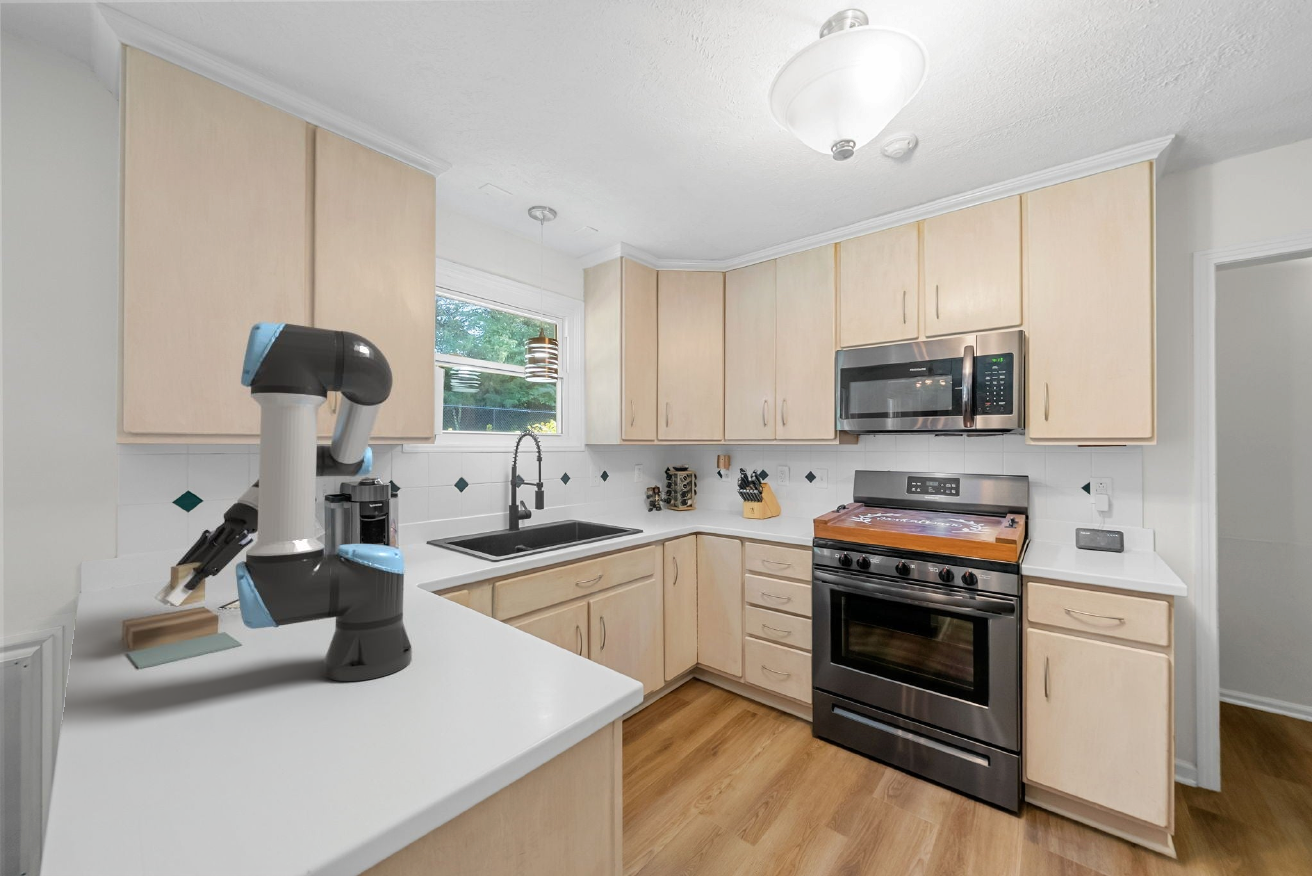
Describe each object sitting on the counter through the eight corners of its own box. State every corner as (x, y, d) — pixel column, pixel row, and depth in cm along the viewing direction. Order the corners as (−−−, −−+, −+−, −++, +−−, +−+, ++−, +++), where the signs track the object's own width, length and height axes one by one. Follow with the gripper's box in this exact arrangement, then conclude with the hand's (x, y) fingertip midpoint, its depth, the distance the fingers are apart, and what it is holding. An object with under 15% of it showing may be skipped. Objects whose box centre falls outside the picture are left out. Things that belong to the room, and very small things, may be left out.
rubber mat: (241, 645, 115) (241, 643, 115) (138, 669, 102) (138, 666, 102) (224, 633, 122) (224, 631, 122) (126, 654, 110) (126, 652, 110)
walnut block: (217, 633, 122) (218, 616, 122) (132, 651, 111) (133, 632, 111) (203, 623, 129) (203, 606, 130) (122, 638, 118) (122, 620, 119)
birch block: (204, 600, 115) (205, 562, 116) (177, 606, 111) (179, 567, 111) (196, 599, 116) (197, 562, 116) (169, 605, 111) (170, 566, 112)
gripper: (286, 523, 126) (206, 615, 110) (239, 519, 131) (155, 607, 114) (264, 502, 121) (177, 595, 105) (216, 499, 126) (125, 588, 110)
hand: (166, 601), depth 110 cm, fingers closed on birch block, 2 cm apart
